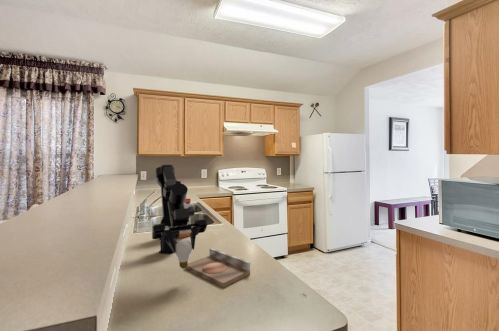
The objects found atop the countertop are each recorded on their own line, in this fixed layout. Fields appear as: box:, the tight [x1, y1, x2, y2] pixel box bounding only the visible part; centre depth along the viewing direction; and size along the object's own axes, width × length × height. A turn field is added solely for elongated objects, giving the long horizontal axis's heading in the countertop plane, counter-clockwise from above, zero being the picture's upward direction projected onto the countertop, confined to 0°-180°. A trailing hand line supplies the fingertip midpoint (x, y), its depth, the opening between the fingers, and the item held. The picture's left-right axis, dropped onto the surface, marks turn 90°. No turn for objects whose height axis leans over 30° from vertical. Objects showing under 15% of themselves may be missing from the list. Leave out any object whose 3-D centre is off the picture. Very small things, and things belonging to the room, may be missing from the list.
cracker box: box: [161, 196, 192, 239], centre depth 138 cm, size 14×6×21 cm, turn 117°
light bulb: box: [175, 238, 193, 270], centre depth 88 cm, size 6×6×10 cm
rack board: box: [184, 247, 251, 288], centre depth 96 cm, size 22×13×4 cm, turn 48°
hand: (184, 250), depth 87 cm, fingers closed on light bulb, 6 cm apart
